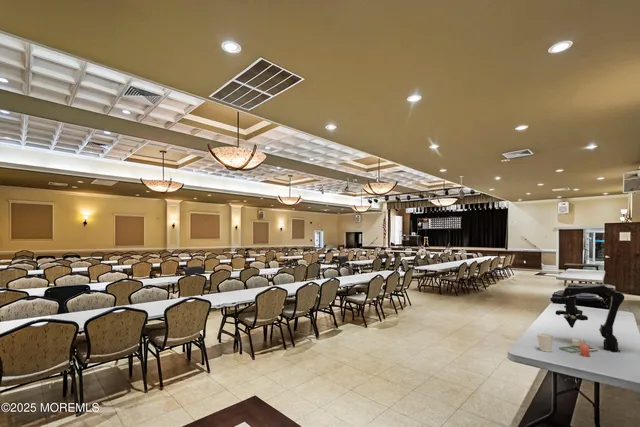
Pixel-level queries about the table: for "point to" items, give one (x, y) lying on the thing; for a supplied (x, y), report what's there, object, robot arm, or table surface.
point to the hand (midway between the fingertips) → (571, 327)
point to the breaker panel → (589, 348)
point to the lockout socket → (569, 350)
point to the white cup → (545, 342)
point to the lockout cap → (584, 350)
